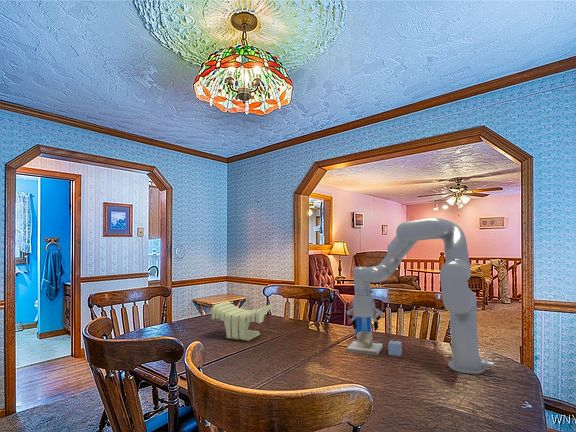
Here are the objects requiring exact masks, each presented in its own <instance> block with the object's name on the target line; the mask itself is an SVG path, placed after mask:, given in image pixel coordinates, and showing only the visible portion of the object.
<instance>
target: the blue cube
mask: <svg viewBox="0 0 576 432" xmlns="http://www.w3.org/2000/svg"><path fill="white" fill-rule="evenodd" d="M387 344H388V345H387V347H388V348H387V350H388V355H389V356H396V357H401V356H402V354H403V350H402V349H403V346H402V341H399V340H389V341H388V342H387Z"/></svg>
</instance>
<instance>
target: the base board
mask: <svg viewBox="0 0 576 432" xmlns="http://www.w3.org/2000/svg"><path fill="white" fill-rule="evenodd" d="M383 345H384V343H381V342H374V341H373V345H372V347H371V348H370V349H368V348H359V347H357V340H353V341H352V342H351V343H350V344H349V345H348V347H346V349H345V352H346V353H352V354H359V355H367V356H376V357H377V356H379V353H380V352H381V351H382V349H383V348H384V347H383Z"/></svg>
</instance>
